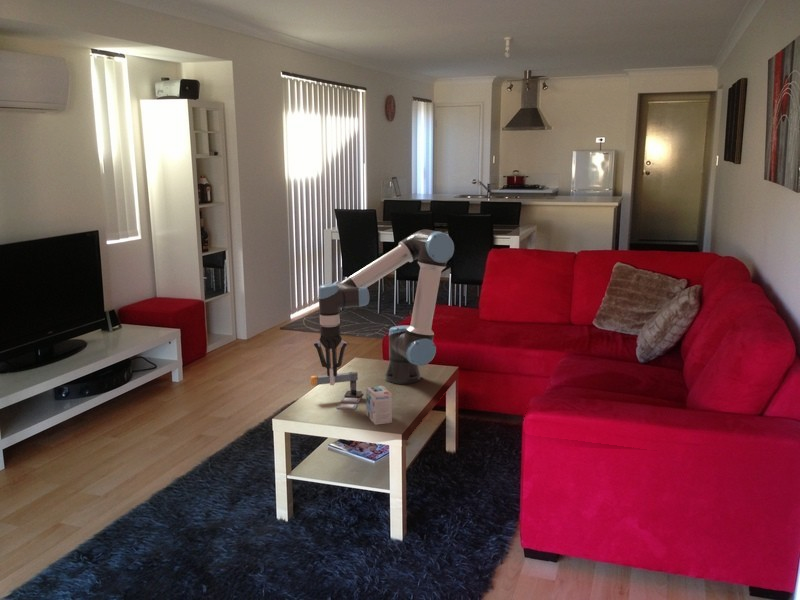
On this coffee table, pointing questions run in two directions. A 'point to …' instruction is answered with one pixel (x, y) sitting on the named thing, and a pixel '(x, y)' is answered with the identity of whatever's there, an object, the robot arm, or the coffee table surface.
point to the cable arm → (339, 378)
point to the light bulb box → (379, 405)
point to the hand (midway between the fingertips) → (332, 384)
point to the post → (353, 391)
